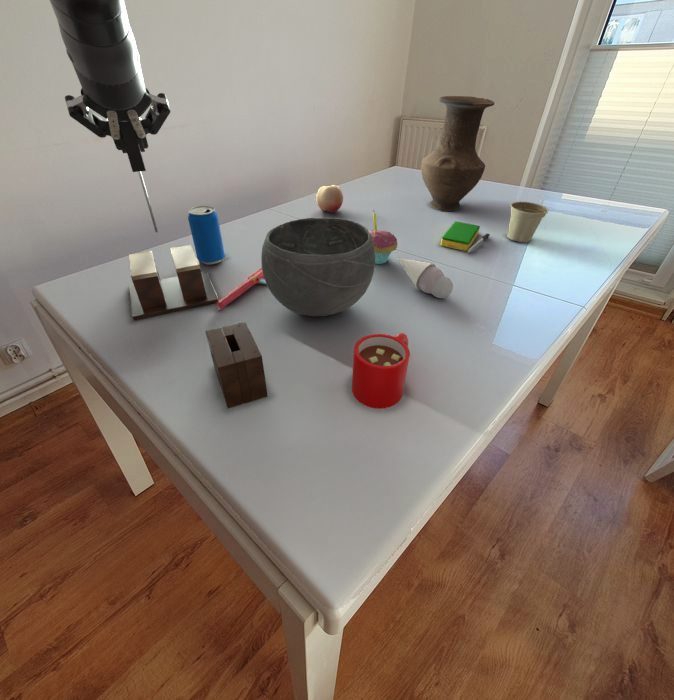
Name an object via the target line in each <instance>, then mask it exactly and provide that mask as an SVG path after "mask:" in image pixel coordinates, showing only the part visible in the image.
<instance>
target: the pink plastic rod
mask: <svg viewBox="0 0 674 700" xmlns="http://www.w3.org/2000/svg"><path fill="white" fill-rule="evenodd" d="M259 284H261V285H262V284H263V285H266V286H267V284H266V281H265V278H264V275H263V271H262V267H260V268H259V269H258V270H257V271H255V272H253V273H252V274H251V275H250V276H248V277H247V279H246V280H245V281H243V282H242V283H241V284H239V285H238V286H237V287H235V288H234V289H232V290H231V291H230V292H228V293H227V294H225V295H224V296H222V297H221V298H220V299H219V301H217V304H216V306H217V307H218V308H217V310H218V311H220V310H222V309H224V308H226V307H227V306H228V305H229V304H230V303H232V302H233V301H235V300H236V299H237V298H238V297H240V296H241V295H242V294H244V293H245V292H246V291H248V290H249V289H250V288H251V287H253V286H254V285H259Z"/></svg>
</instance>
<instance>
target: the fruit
mask: <svg viewBox="0 0 674 700" xmlns="http://www.w3.org/2000/svg"><path fill="white" fill-rule="evenodd" d="M315 197H316V204H317V206H318V208H319V210H321V211H323V212H327V213H335V212H337V211H338V210H340V209H341V207H342V205H343V203H344V194H343V191H342V189H341V188H340V187H339V186H338V185H337V184H332V185H328V186H326V185H323V186H321V187H319V189H318V190H317V192H316V196H315Z"/></svg>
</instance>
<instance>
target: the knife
mask: <svg viewBox="0 0 674 700" xmlns="http://www.w3.org/2000/svg"><path fill="white" fill-rule="evenodd" d="M489 238H490V233H485V234H484V235H482V237H480V239H479V240H477V242H476V243H474V244H473V245H471V246H470V247H469V249H468V250H467V253H468V254H469V253H470V254H471V253H472V252H474V251H475V250H477V249H478V248H481V246H482V244H483V242H485V241H487V240H488V239H489Z"/></svg>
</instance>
